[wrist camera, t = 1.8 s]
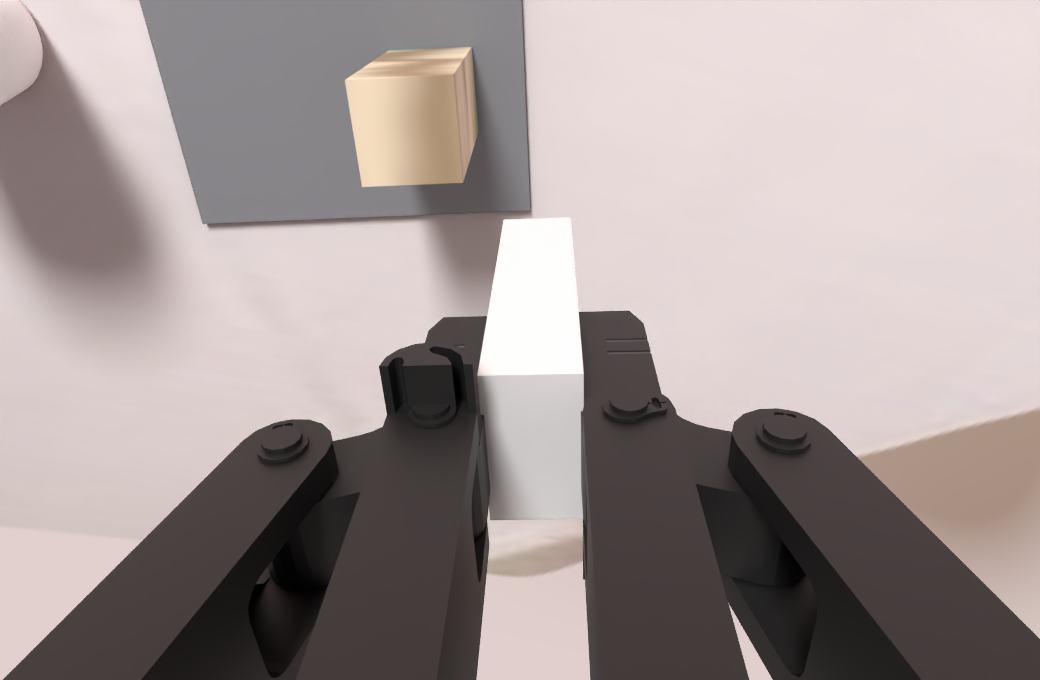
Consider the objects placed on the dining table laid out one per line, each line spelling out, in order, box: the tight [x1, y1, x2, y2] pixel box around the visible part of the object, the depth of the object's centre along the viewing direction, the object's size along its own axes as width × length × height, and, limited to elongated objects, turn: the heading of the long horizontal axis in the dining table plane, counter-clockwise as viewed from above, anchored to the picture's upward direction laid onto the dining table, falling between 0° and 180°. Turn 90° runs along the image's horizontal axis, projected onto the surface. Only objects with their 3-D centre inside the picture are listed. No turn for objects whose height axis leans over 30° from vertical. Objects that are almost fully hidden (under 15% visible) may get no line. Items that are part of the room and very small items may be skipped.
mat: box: [139, 0, 530, 224], centre depth 38 cm, size 20×18×1 cm
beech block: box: [345, 46, 478, 187], centre depth 34 cm, size 4×4×10 cm
